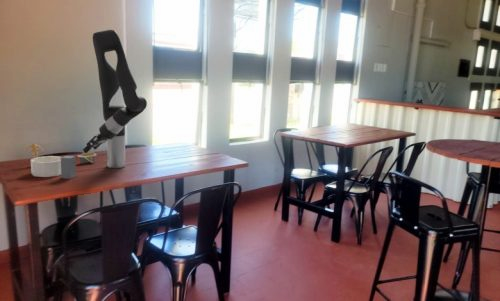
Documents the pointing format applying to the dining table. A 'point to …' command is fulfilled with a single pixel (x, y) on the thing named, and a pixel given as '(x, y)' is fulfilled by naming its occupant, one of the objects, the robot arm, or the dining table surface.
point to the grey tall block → (68, 167)
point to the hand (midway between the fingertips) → (89, 149)
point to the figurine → (34, 149)
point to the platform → (87, 157)
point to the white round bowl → (46, 166)
